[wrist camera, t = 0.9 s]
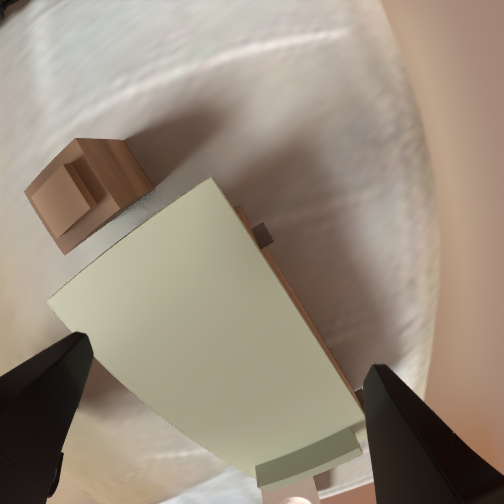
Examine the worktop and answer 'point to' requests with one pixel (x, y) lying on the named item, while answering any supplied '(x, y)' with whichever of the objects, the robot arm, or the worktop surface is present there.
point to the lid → (215, 342)
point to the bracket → (293, 493)
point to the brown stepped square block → (86, 189)
